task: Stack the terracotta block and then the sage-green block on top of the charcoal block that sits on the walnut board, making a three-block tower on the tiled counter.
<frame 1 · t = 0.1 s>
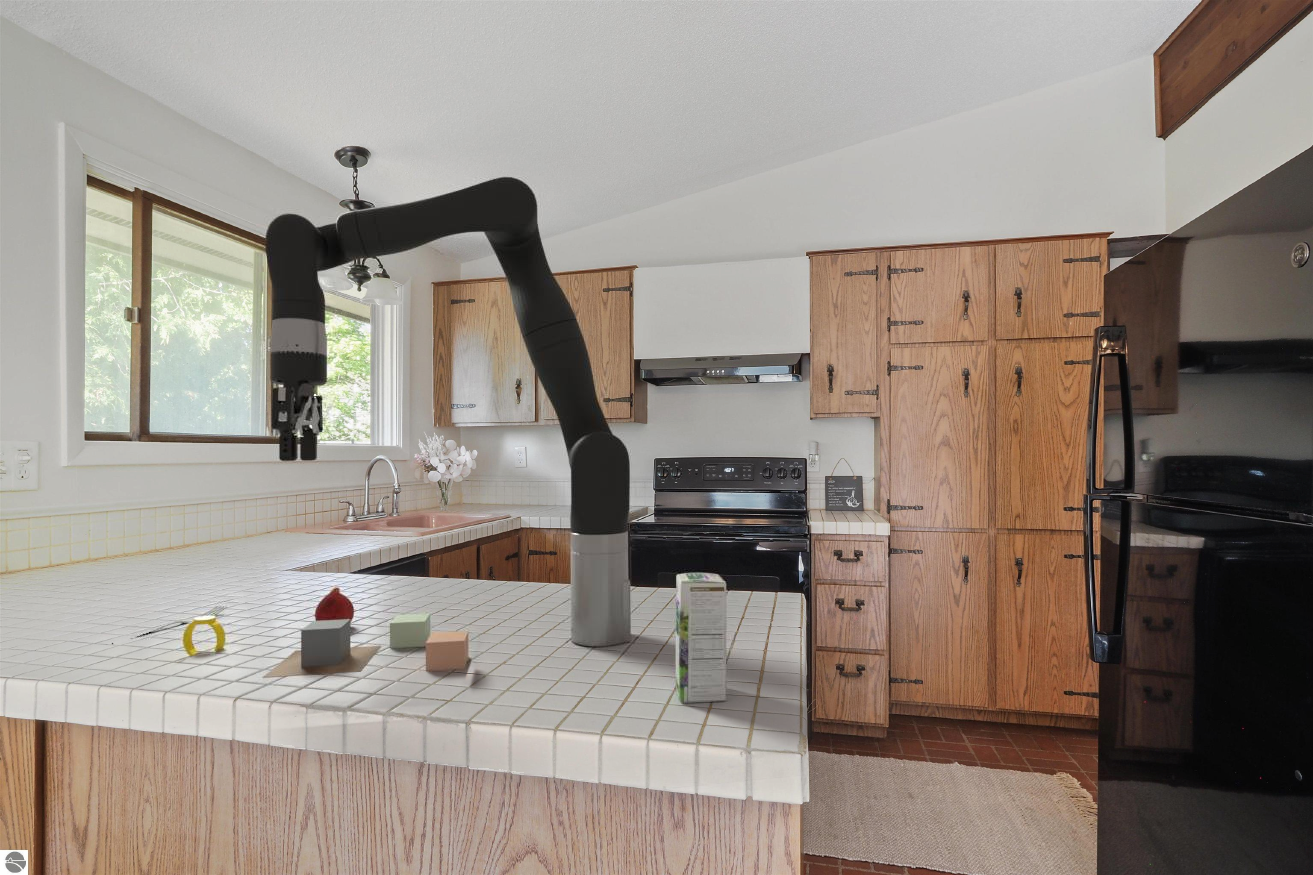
hand: (299, 460, 100), 29 cm above the countertop, tool pointing down, fingers open, 8 cm apart
syrup box: (700, 695, 83), on the countertop
onion: (334, 637, 111), on the countertop
watch: (204, 658, 100), on the countertop
terracotta brick: (447, 673, 92), on the countertop
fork: (162, 632, 116), on the countertop
walnut board: (326, 668, 94), on the countertop
sage brick: (410, 650, 102), on the countertop
charcoal brick: (326, 660, 94), point 1 cm above the countertop, touching walnut board
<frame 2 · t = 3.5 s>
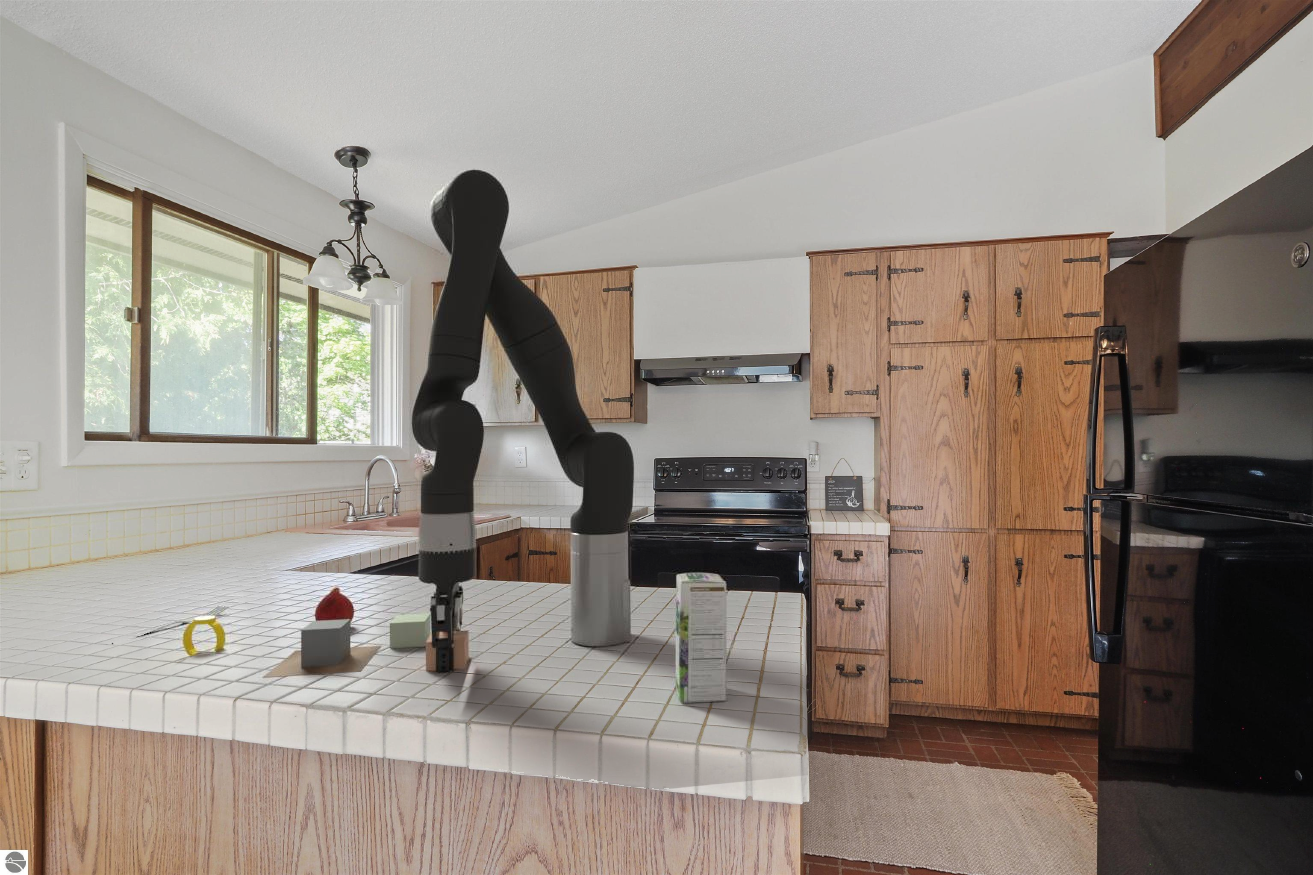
hand: (447, 668, 92), 0 cm above the countertop, tool pointing down, fingers closed on terracotta brick, 5 cm apart
terracotta brick: (447, 672, 92), on the countertop, touching gripper
everything else where it was.
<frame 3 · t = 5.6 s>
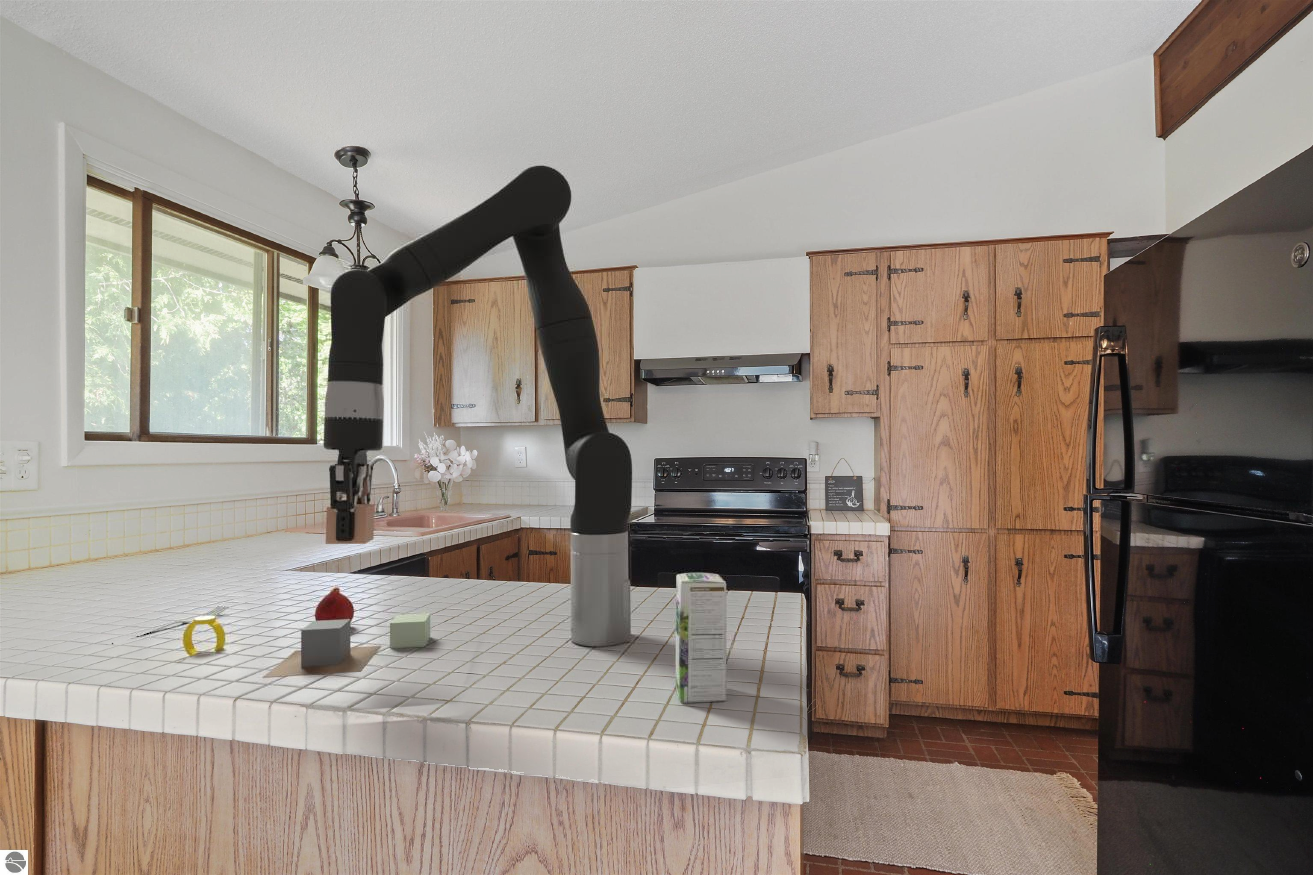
hand: (350, 537, 93), 18 cm above the countertop, tool pointing down, fingers closed on terracotta brick, 5 cm apart
terracotta brick: (350, 541, 93), point 18 cm above the countertop, touching gripper
everything else where it was.
when the fingers open (8 cm above the countertop, at t = 7.9 s): terracotta brick stays where it is, resting on charcoal brick.
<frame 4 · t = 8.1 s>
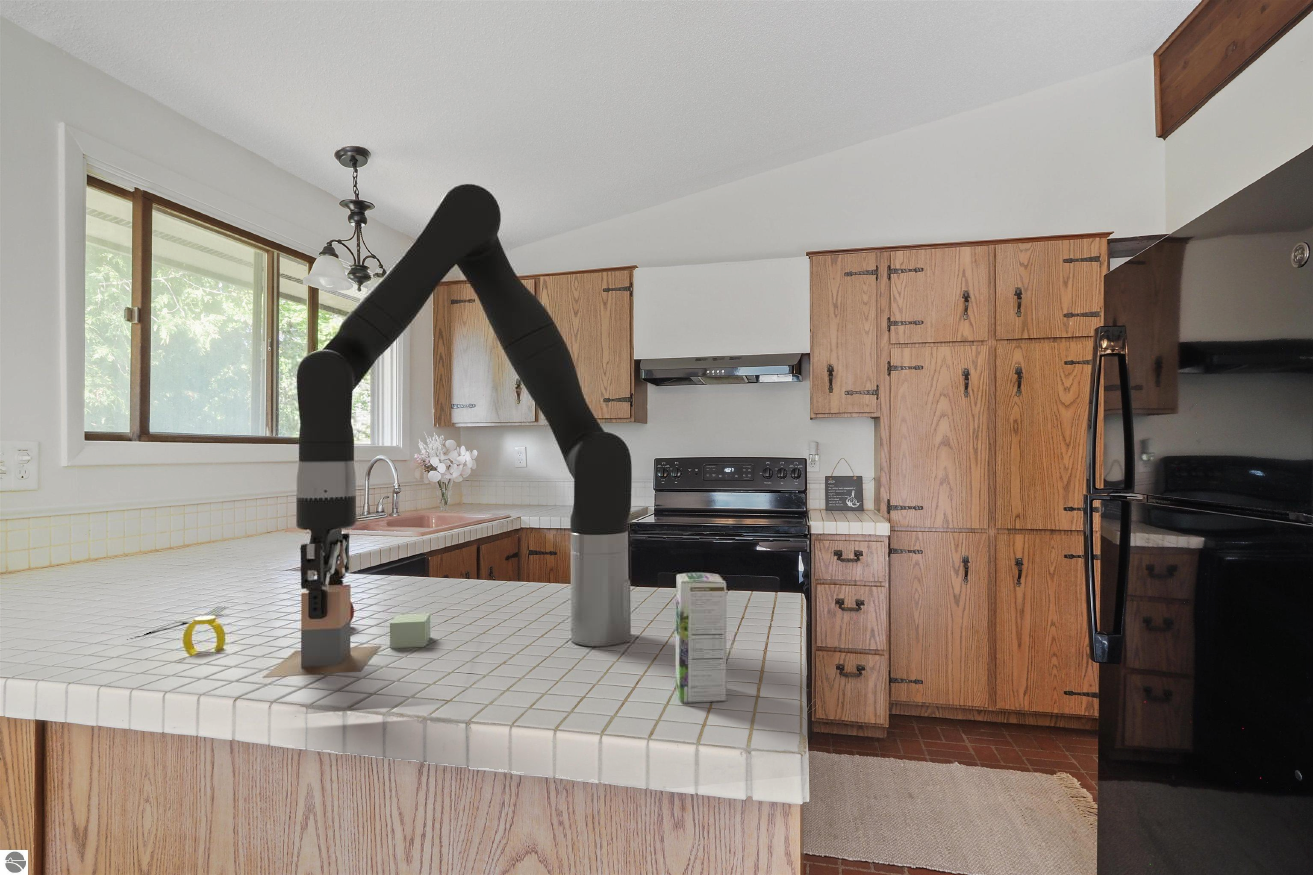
hand: (326, 611, 94), 8 cm above the countertop, tool pointing down, fingers open, 7 cm apart
terracotta brick: (326, 624, 94), point 6 cm above the countertop, touching charcoal brick
charcoal brick: (326, 660, 94), point 1 cm above the countertop, touching terracotta brick, walnut board
everything else where it was.
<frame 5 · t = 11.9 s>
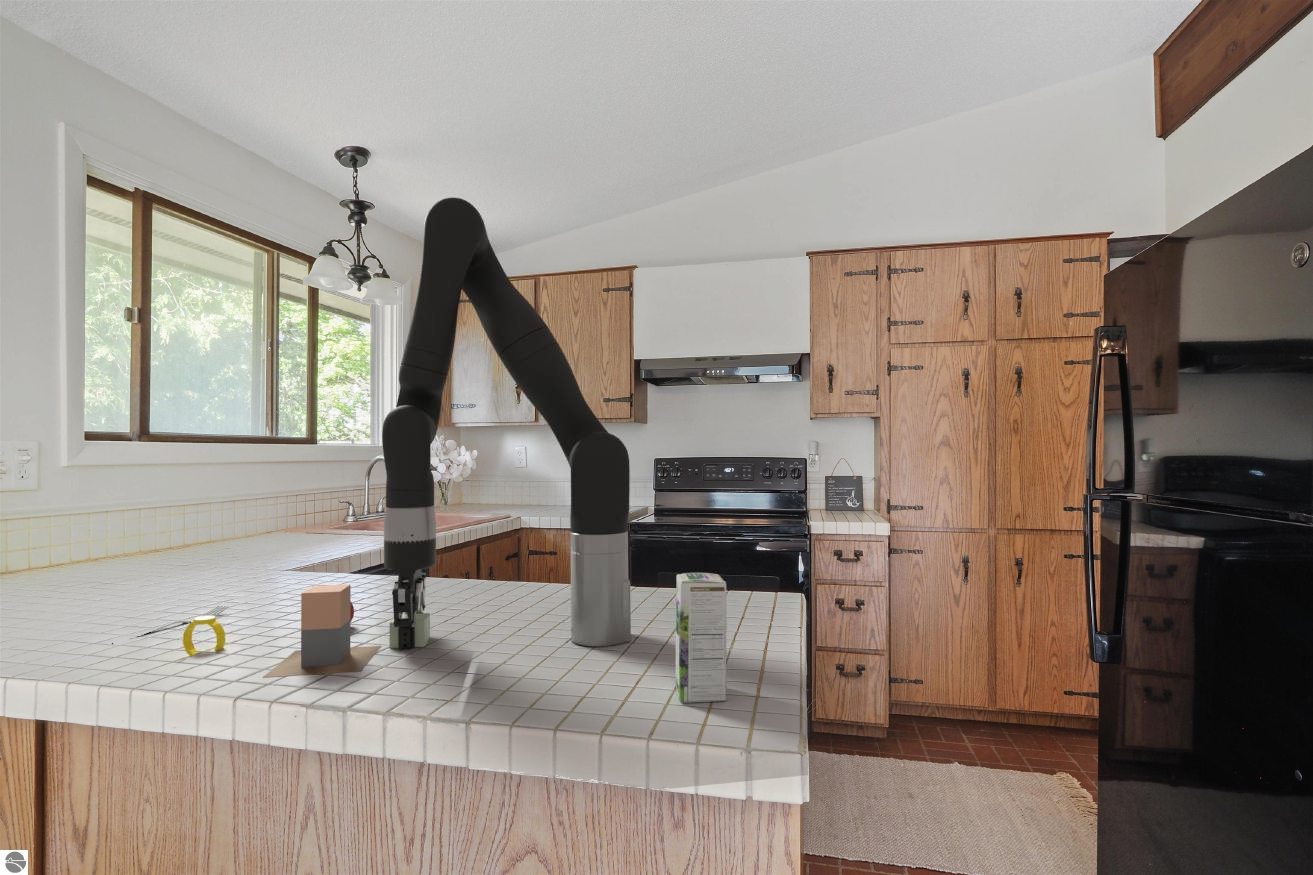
hand: (410, 647, 102), 0 cm above the countertop, tool pointing down, fingers closed on sage brick, 5 cm apart
sage brick: (410, 650, 102), on the countertop, touching gripper
everything else where it was.
when the fingers open (13 cm above the countertop, at t = 16.4 s): sage brick stays where it is, resting on terracotta brick.
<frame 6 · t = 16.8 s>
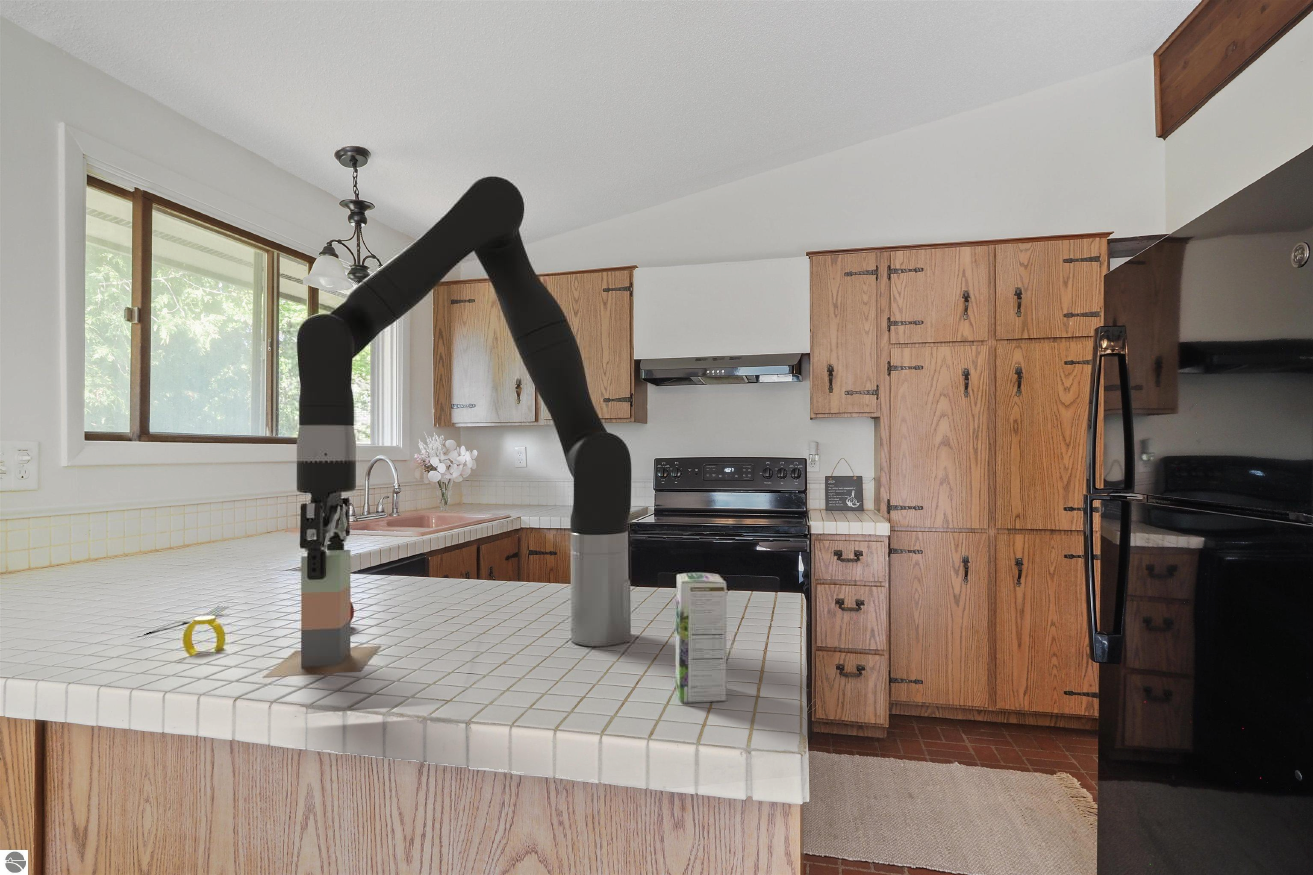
hand: (326, 573, 94), 13 cm above the countertop, tool pointing down, fingers open, 8 cm apart
terracotta brick: (326, 624, 94), point 6 cm above the countertop, touching charcoal brick, sage brick
sage brick: (326, 588, 94), point 11 cm above the countertop, touching terracotta brick
everything else where it was.
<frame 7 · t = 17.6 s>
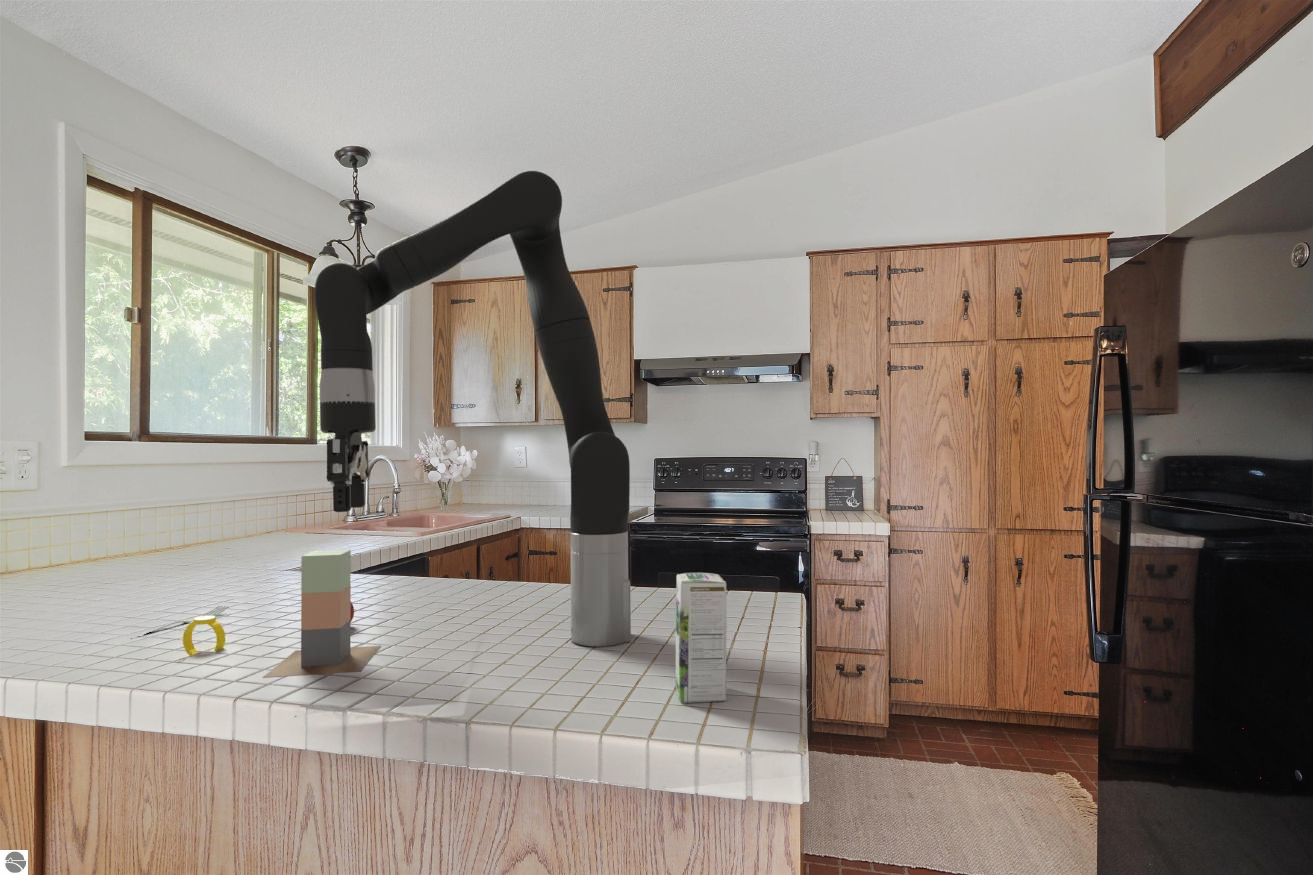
hand: (350, 509, 100), 22 cm above the countertop, tool pointing down, fingers open, 8 cm apart
nothing on the countertop moved.
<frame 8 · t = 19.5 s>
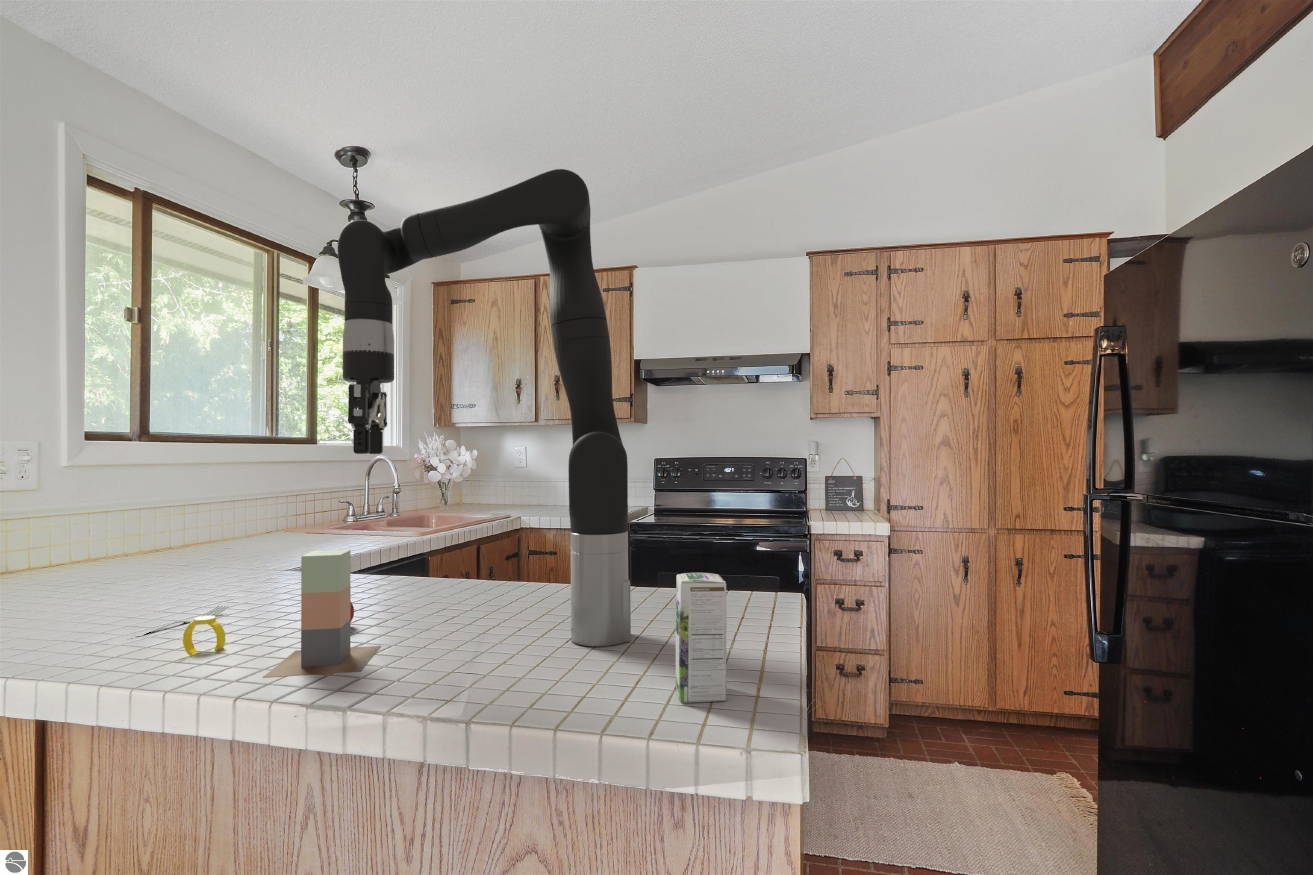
hand: (368, 453, 106), 30 cm above the countertop, tool pointing down, fingers open, 8 cm apart
nothing on the countertop moved.
at the end: terracotta brick 0.0 cm off-centre on the charcoal brick, point 5.0 cm above the charcoal brick's base; sage brick 0.0 cm off-centre on the terracotta brick, point 5.0 cm above the terracotta brick's base; the gripper is holding nothing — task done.
